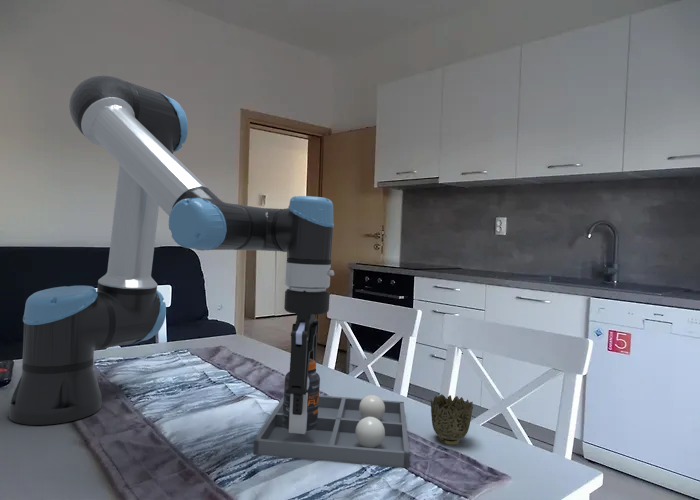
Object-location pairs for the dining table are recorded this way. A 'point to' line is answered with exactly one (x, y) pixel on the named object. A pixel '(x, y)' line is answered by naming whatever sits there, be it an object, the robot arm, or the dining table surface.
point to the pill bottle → (312, 401)
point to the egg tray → (337, 435)
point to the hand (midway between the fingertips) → (300, 424)
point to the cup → (451, 418)
